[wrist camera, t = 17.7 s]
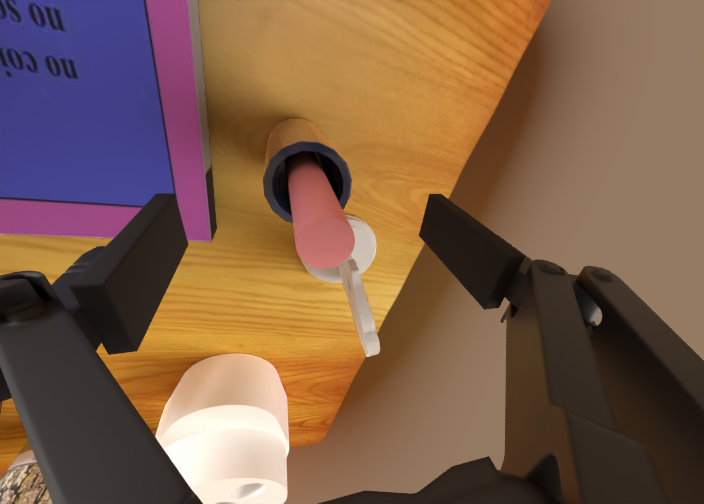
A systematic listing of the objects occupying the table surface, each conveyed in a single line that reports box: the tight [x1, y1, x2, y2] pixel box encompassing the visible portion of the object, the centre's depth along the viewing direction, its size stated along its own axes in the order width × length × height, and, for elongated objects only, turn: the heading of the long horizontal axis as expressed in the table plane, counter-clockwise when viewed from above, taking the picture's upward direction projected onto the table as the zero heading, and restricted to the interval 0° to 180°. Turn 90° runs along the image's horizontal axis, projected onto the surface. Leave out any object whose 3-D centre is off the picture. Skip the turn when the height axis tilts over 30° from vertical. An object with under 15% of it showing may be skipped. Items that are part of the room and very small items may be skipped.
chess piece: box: [302, 214, 380, 357], centre depth 29 cm, size 10×10×15 cm
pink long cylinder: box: [285, 151, 355, 269], centre depth 20 cm, size 3×3×18 cm
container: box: [155, 353, 289, 504], centre depth 42 cm, size 20×25×14 cm
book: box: [0, 0, 217, 242], centre depth 18 cm, size 21×3×30 cm
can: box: [263, 118, 352, 223], centre depth 23 cm, size 6×6×11 cm
